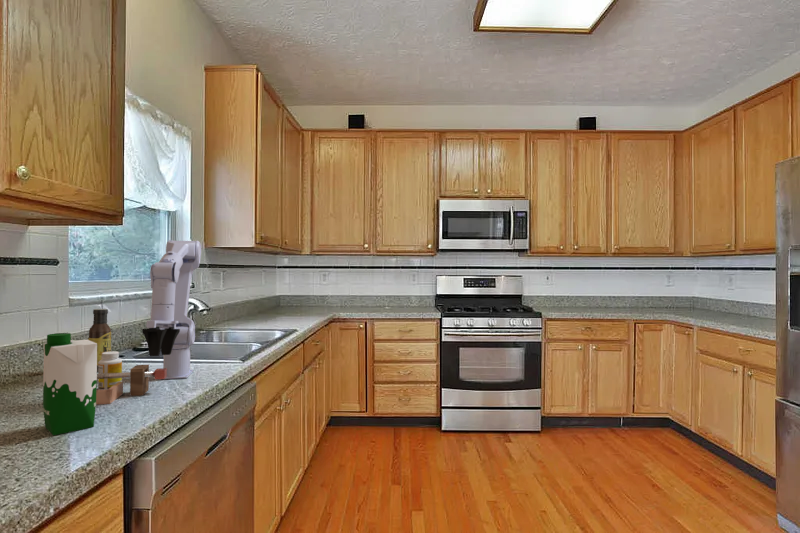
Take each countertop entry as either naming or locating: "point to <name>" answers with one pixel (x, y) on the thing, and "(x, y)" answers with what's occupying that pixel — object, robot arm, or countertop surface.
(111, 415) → the countertop surface
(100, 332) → the sauce bottle
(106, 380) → the supplement bottle
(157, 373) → the lock pin
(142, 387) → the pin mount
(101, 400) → the dock
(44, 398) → the milk carton
